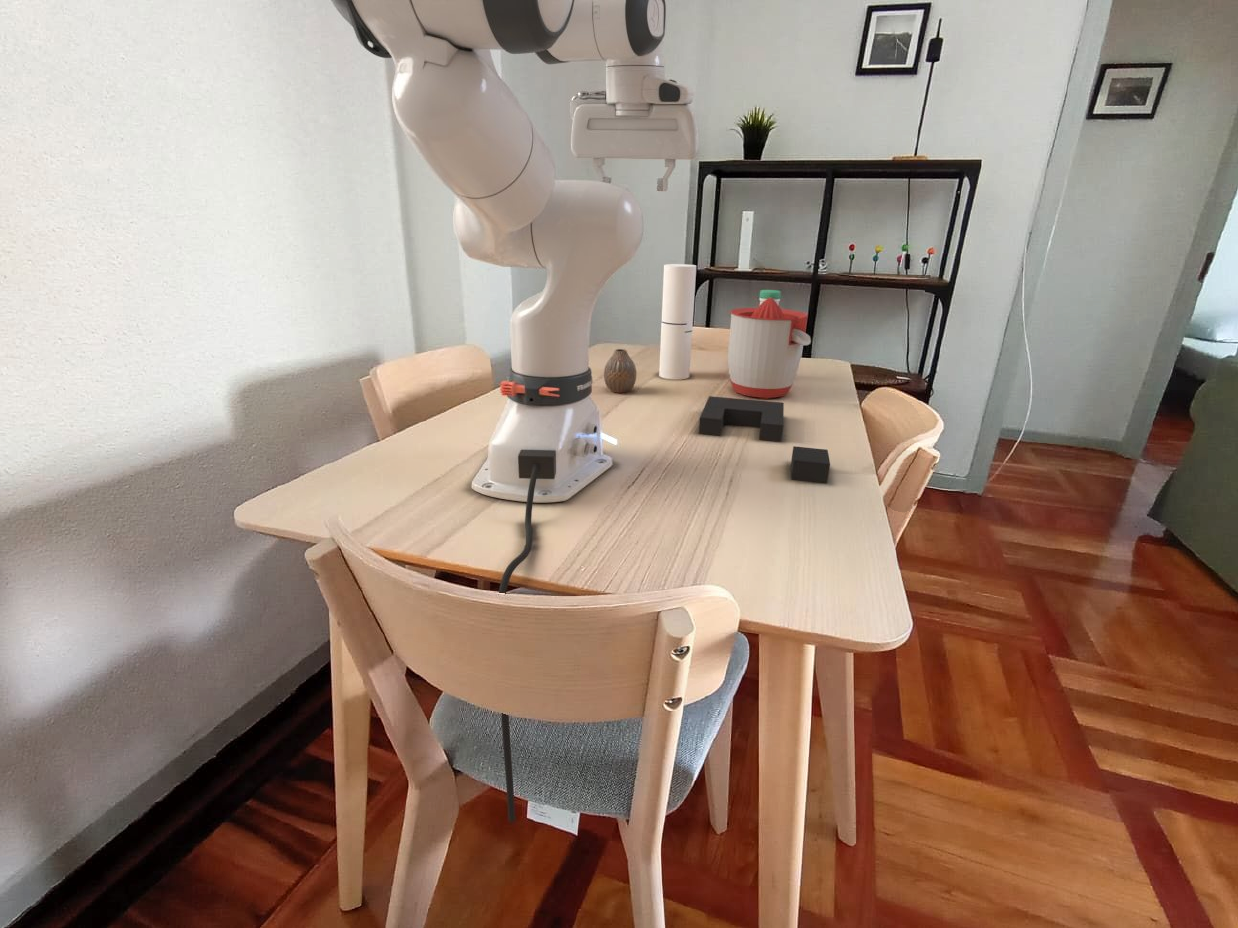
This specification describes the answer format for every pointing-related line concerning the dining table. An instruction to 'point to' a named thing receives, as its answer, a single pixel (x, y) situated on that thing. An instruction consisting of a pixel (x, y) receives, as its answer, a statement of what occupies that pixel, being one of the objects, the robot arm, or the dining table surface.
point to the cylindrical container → (677, 320)
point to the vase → (620, 372)
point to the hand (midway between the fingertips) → (633, 190)
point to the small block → (810, 464)
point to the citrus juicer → (765, 349)
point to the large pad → (743, 416)
